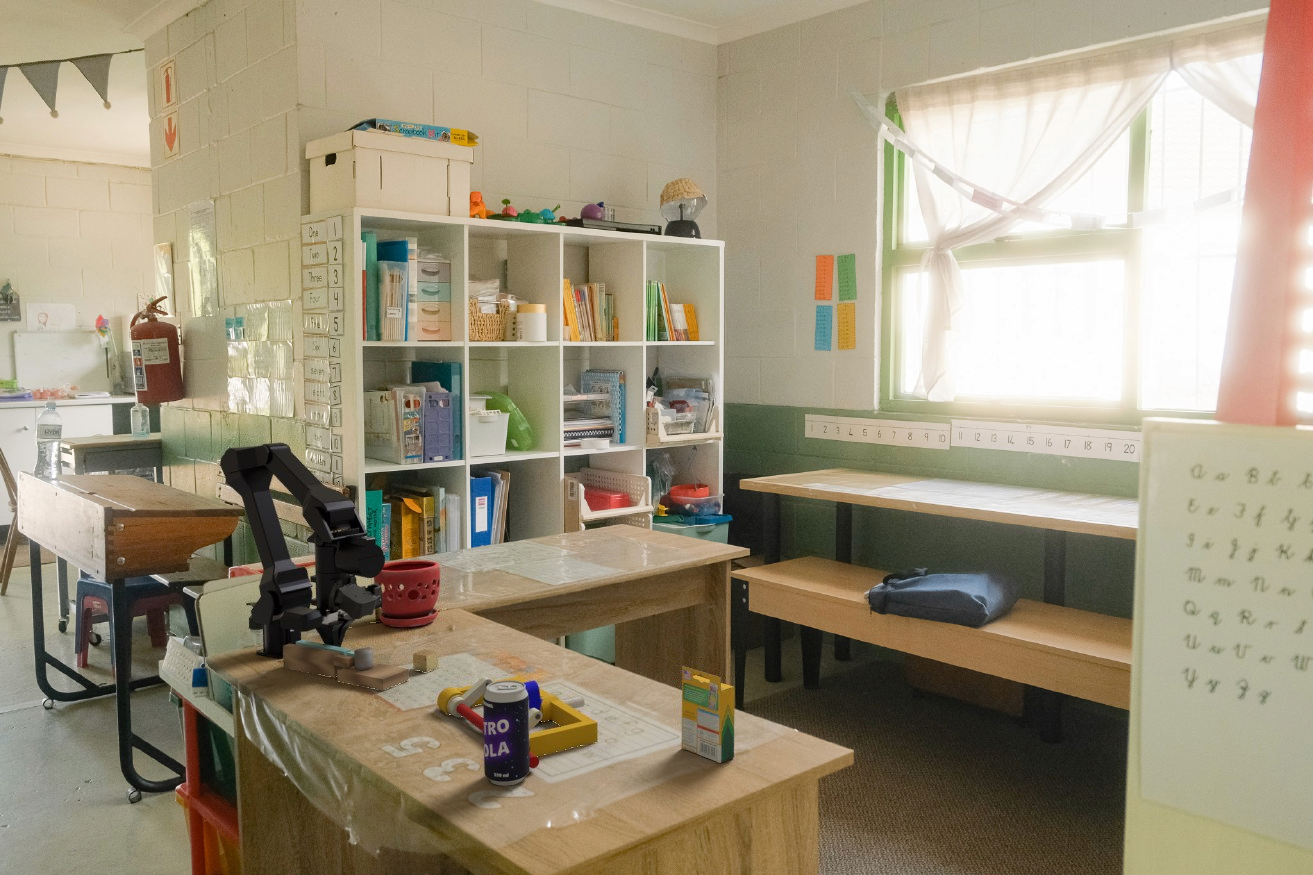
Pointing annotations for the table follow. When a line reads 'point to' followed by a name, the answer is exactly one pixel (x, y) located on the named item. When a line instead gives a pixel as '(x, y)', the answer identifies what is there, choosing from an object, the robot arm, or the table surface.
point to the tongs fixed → (355, 670)
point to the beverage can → (506, 732)
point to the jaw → (326, 647)
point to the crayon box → (707, 715)
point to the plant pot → (409, 592)
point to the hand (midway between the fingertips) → (334, 656)
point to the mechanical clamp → (541, 708)
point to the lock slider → (425, 660)
